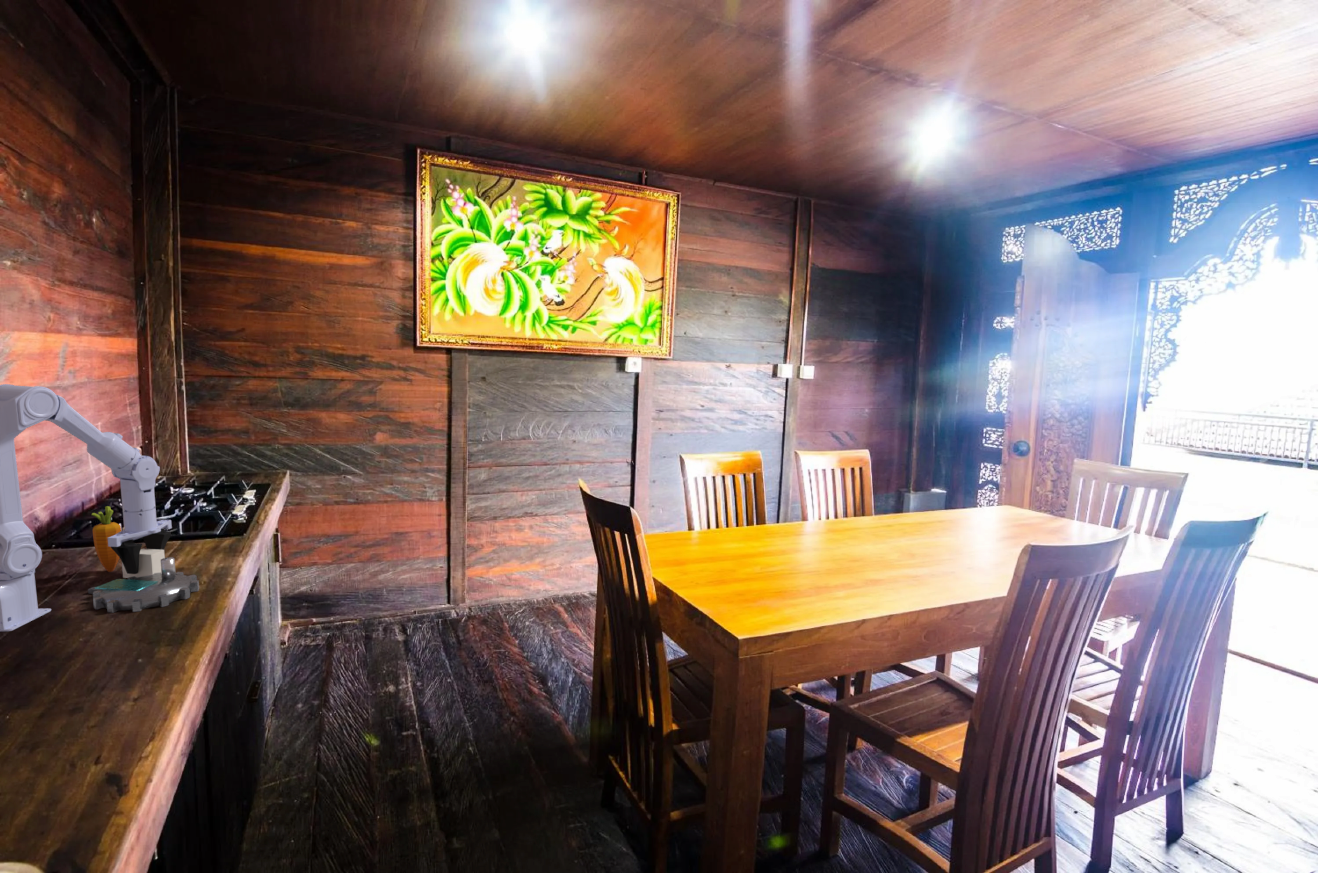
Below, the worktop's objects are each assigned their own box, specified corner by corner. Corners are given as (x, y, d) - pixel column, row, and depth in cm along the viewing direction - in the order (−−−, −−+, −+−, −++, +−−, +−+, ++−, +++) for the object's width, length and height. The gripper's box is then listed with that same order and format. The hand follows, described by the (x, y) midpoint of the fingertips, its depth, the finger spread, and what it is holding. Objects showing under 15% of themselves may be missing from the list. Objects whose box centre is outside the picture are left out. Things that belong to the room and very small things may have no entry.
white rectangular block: (166, 575, 151) (164, 549, 150) (153, 581, 147) (151, 554, 146) (136, 573, 151) (134, 548, 150) (123, 579, 148) (120, 552, 147)
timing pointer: (107, 593, 140) (107, 587, 139) (101, 595, 138) (101, 590, 138) (94, 592, 140) (93, 586, 140) (88, 594, 138) (87, 589, 138)
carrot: (108, 577, 148) (102, 511, 146) (90, 575, 149) (84, 509, 147) (130, 570, 153) (125, 505, 151) (112, 567, 154) (107, 504, 152)
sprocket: (99, 620, 126) (96, 589, 125) (88, 594, 138) (85, 566, 137) (208, 597, 138) (206, 569, 137) (189, 575, 150) (187, 549, 149)
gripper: (128, 518, 140) (133, 581, 141) (182, 502, 154) (186, 559, 156) (96, 516, 140) (101, 579, 142) (153, 500, 154) (157, 557, 156)
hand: (144, 568), depth 149 cm, fingers open, 5 cm apart
